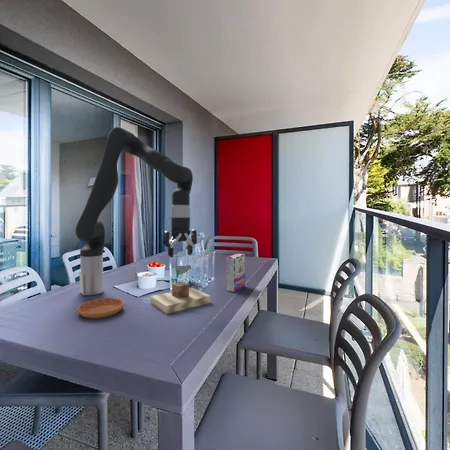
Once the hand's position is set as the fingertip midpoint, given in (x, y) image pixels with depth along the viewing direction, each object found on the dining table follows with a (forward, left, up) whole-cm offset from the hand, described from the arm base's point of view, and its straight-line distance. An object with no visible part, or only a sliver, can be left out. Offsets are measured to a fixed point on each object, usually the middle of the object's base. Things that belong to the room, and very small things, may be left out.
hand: (180, 255), depth 117 cm
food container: (+17, +24, -20) cm, 36 cm away
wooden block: (0, 0, -20) cm, 20 cm away
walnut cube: (0, 0, -17) cm, 17 cm away
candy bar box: (+31, +1, -20) cm, 37 cm away
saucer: (-28, +10, -20) cm, 36 cm away
